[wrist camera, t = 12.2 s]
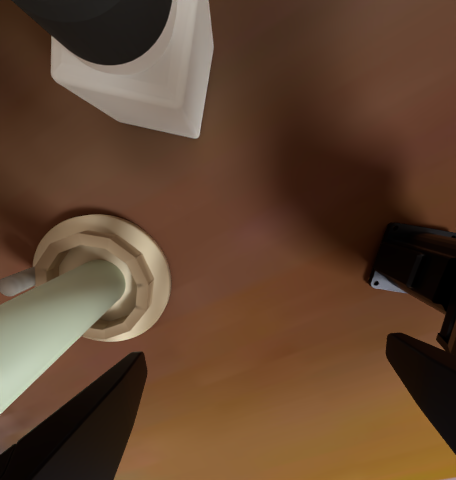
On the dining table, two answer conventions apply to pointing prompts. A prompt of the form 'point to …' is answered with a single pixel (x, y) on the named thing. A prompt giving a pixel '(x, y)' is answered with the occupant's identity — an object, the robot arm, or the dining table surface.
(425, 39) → the dining table surface
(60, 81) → the medicine bottle
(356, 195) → the dining table surface
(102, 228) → the flange plate
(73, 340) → the post
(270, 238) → the dining table surface
